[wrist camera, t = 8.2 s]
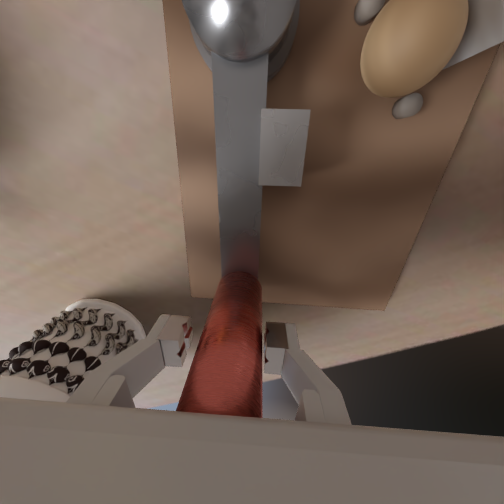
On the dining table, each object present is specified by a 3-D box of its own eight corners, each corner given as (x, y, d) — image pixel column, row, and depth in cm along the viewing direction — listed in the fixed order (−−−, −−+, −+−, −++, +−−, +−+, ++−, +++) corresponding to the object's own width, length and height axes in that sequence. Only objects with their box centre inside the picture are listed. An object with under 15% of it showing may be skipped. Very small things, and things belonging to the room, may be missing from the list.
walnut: (425, -2, 9) (512, -85, 6) (421, 91, 11) (490, 63, 8) (344, 31, 10) (384, -28, 7) (351, 115, 11) (387, 99, 8)
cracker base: (164, -83, 9) (93, -256, 5) (525, -68, 9) (728, -238, 5) (195, 288, 18) (177, 325, 15) (377, 301, 18) (409, 342, 14)
